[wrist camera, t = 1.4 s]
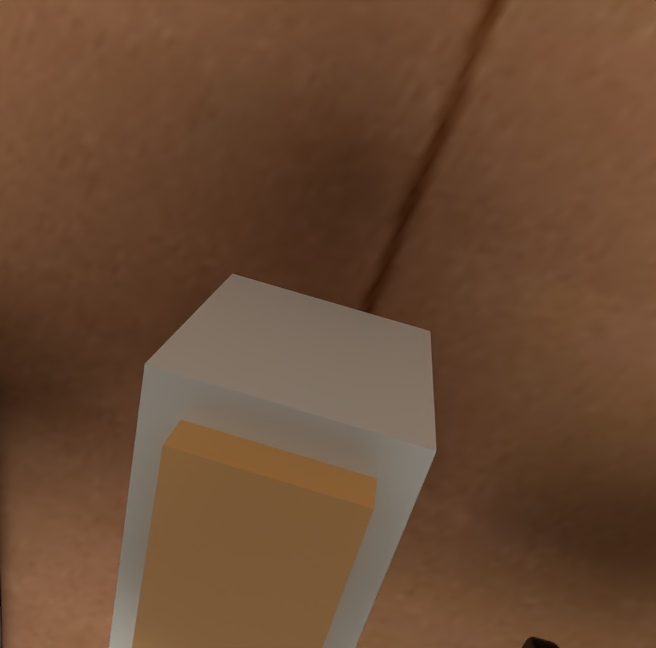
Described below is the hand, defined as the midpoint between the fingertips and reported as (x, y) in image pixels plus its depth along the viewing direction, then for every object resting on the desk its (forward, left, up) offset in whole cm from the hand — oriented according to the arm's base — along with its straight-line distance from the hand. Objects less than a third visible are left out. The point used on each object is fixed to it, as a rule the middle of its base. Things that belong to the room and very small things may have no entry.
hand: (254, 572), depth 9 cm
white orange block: (0, 0, -4) cm, 4 cm away
